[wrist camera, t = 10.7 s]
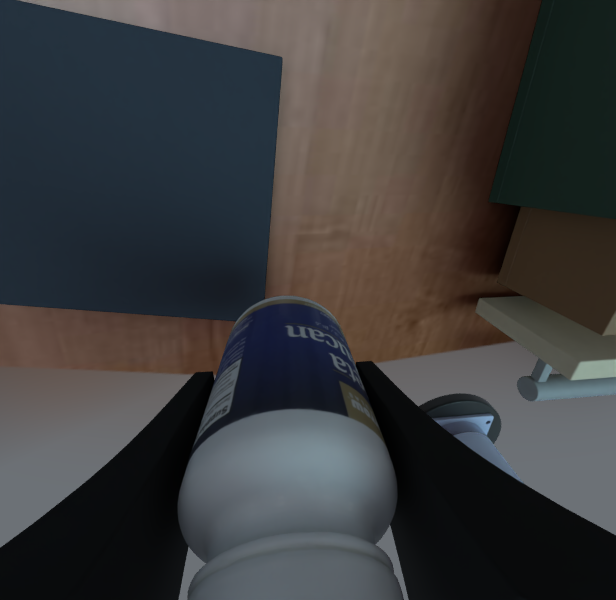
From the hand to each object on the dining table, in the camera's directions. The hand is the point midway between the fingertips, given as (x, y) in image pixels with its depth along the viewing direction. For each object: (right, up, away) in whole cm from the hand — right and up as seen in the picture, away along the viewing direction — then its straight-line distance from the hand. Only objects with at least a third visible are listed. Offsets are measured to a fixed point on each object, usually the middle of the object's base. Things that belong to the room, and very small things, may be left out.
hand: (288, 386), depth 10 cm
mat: (-13, +10, +5) cm, 17 cm away
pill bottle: (0, +1, +3) cm, 3 cm away
